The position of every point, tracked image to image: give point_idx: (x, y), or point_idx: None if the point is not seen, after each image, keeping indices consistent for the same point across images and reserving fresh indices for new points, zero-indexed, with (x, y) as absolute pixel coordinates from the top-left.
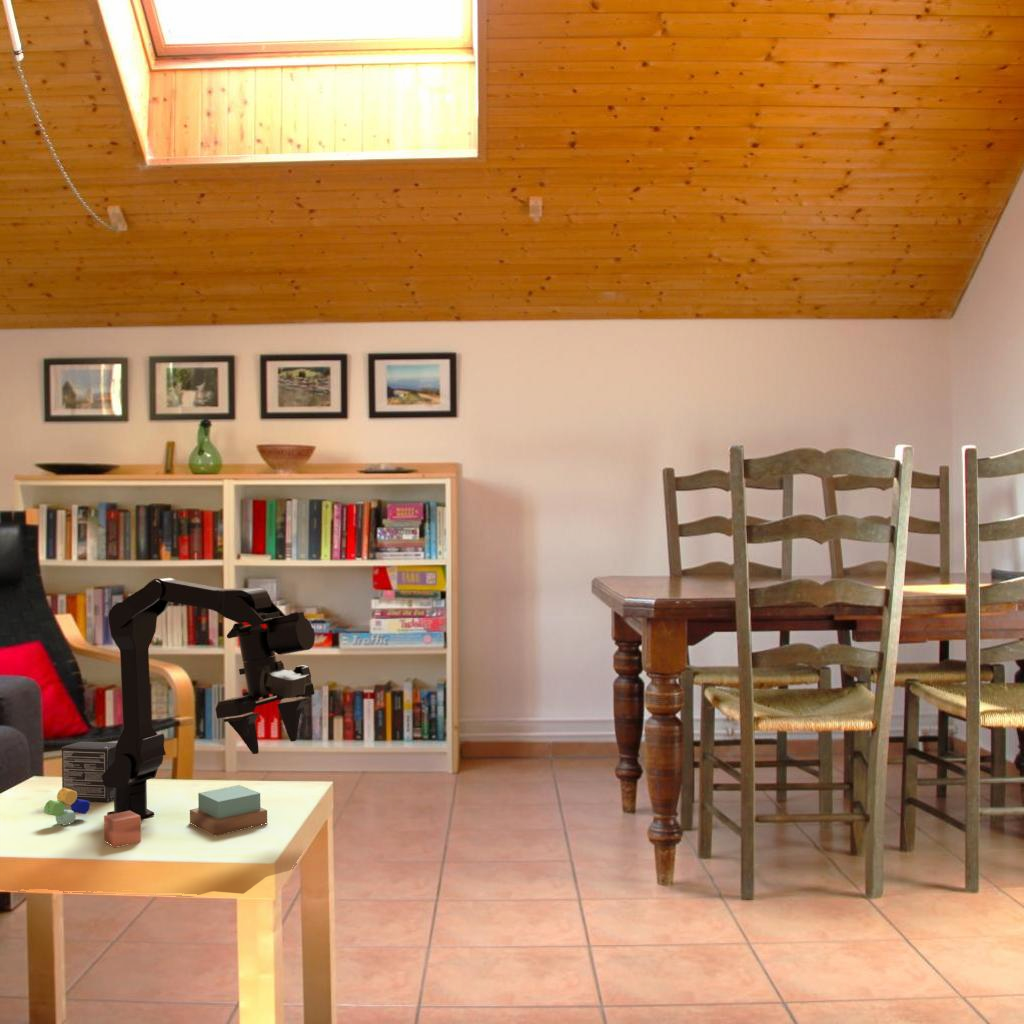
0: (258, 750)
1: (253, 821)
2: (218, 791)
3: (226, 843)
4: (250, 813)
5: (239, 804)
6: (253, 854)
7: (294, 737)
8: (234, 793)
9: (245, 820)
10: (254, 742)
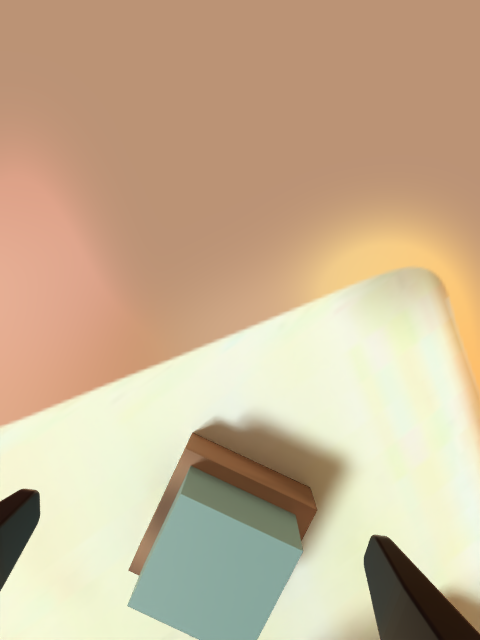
0: (380, 547)
1: (223, 453)
2: (210, 618)
3: (346, 430)
4: (225, 470)
5: (243, 508)
6: (390, 327)
7: (22, 506)
8: (210, 562)
9: (242, 466)
10: (461, 617)
